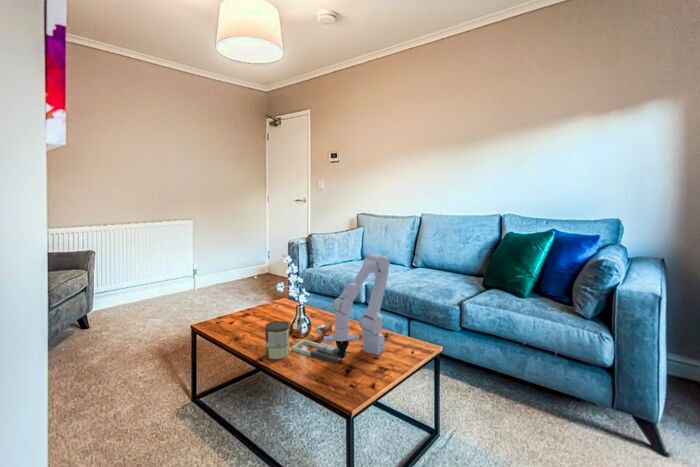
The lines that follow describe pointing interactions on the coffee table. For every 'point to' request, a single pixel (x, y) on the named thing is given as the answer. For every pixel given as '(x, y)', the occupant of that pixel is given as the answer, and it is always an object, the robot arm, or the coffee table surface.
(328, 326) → the bull figurine
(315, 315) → the coffee table surface
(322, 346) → the chip
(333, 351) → the grey cube
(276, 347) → the coffee can
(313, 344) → the tray
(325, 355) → the slot board
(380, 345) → the robot arm
